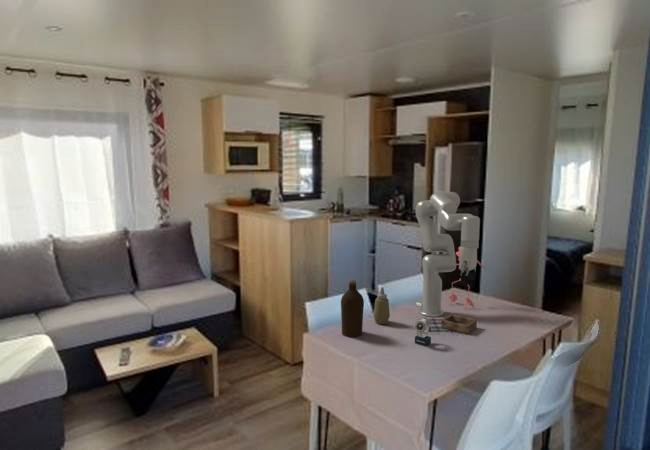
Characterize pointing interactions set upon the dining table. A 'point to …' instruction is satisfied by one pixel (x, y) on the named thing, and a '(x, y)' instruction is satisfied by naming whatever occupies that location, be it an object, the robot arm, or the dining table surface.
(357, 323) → the olive oil
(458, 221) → the robot arm
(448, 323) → the wooden tray
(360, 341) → the dining table surface
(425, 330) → the watch
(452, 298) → the figurine
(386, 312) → the squeeze bottle
